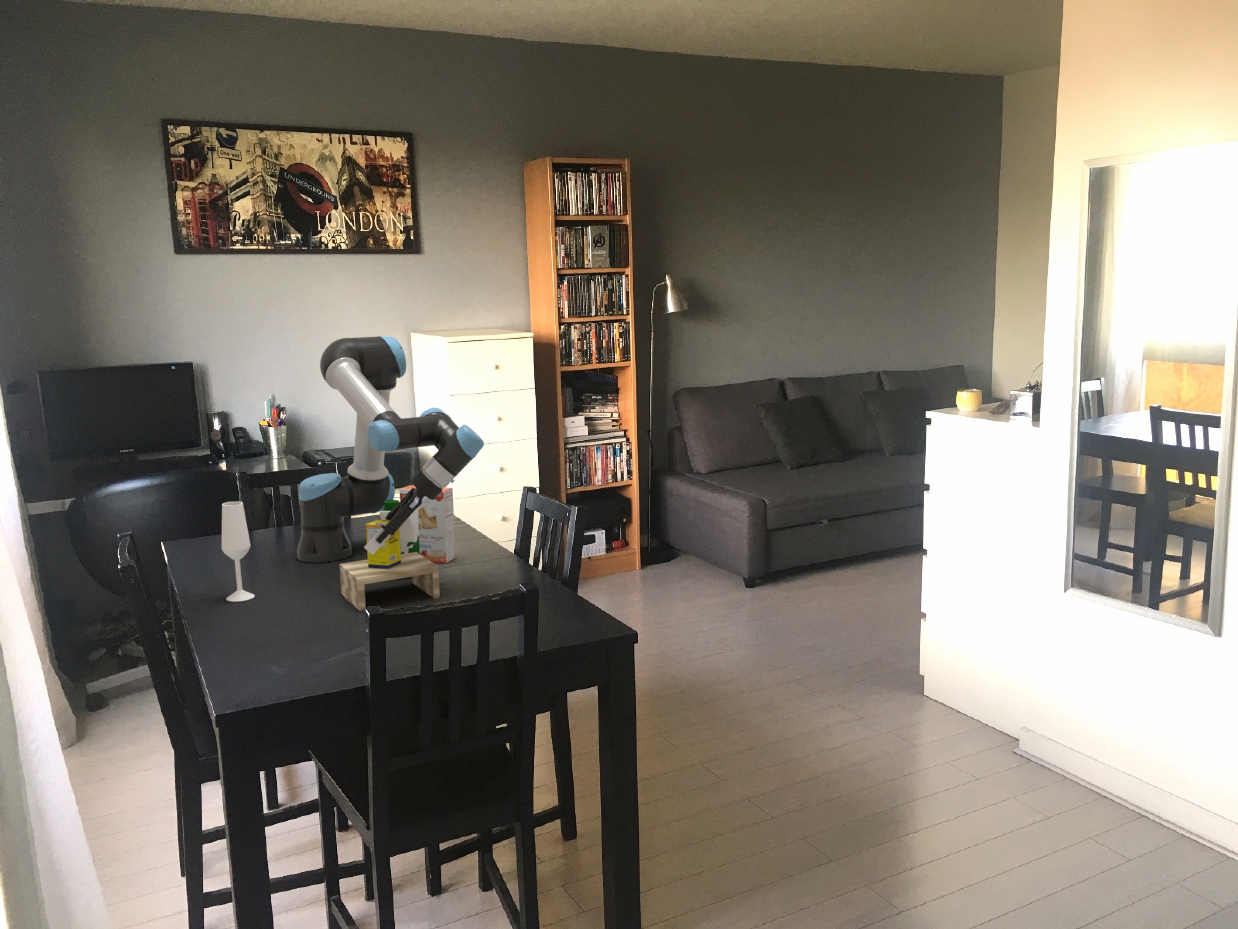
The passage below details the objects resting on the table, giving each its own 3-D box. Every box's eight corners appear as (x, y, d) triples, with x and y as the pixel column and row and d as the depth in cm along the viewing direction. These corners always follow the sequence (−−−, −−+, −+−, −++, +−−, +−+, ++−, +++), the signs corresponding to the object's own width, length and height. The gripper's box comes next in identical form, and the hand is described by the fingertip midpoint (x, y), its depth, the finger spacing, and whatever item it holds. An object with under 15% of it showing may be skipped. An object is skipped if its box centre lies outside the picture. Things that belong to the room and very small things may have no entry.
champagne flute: (226, 595, 244) (218, 502, 240) (254, 592, 247) (247, 499, 242) (225, 602, 238) (217, 507, 234) (254, 599, 240) (247, 505, 236)
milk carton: (394, 569, 265) (390, 497, 262) (425, 570, 264) (421, 498, 260) (380, 578, 257) (376, 504, 254) (412, 579, 255) (408, 505, 252)
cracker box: (402, 560, 274) (398, 488, 270) (413, 555, 279) (409, 484, 276) (446, 564, 269) (442, 490, 266) (456, 559, 275) (453, 486, 271)
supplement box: (401, 563, 242) (399, 520, 240) (388, 569, 236) (386, 525, 234) (380, 561, 243) (378, 518, 242) (367, 567, 238) (365, 523, 236)
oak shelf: (341, 594, 243) (339, 563, 242) (418, 581, 253) (416, 552, 252) (359, 611, 230) (357, 579, 228) (439, 597, 240) (438, 566, 238)
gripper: (444, 497, 229) (379, 567, 229) (443, 481, 250) (383, 545, 249) (420, 476, 227) (354, 547, 227) (421, 461, 248) (360, 526, 247)
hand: (369, 546), depth 238 cm, fingers open, 9 cm apart
